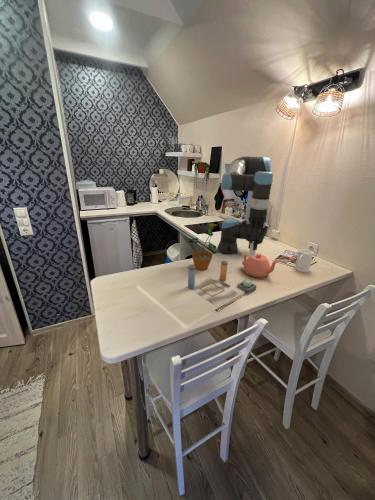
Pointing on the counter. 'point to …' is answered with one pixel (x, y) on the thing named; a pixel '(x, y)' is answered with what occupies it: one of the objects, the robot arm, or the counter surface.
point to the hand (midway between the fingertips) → (251, 255)
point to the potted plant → (203, 253)
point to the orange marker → (223, 270)
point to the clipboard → (216, 292)
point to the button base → (248, 290)
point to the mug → (303, 260)
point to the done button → (247, 283)
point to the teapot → (258, 265)
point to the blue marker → (191, 277)
